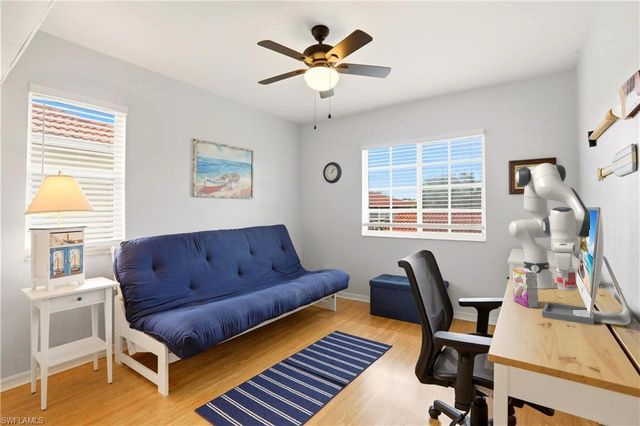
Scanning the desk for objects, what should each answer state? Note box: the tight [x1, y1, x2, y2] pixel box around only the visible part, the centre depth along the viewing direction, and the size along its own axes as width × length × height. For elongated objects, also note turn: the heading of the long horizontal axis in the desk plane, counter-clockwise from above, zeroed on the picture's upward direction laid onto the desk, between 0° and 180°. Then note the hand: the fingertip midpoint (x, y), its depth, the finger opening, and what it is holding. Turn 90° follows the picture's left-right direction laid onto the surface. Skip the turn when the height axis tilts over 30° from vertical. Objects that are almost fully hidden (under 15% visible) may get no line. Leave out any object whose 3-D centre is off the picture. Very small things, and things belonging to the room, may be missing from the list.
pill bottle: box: [555, 262, 577, 292], centre depth 127 cm, size 6×6×11 cm
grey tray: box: [541, 301, 595, 326], centre depth 127 cm, size 16×16×2 cm
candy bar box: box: [511, 267, 539, 309], centre depth 144 cm, size 11×5×16 cm, turn 179°
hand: (566, 278), depth 127 cm, fingers closed on pill bottle, 6 cm apart
